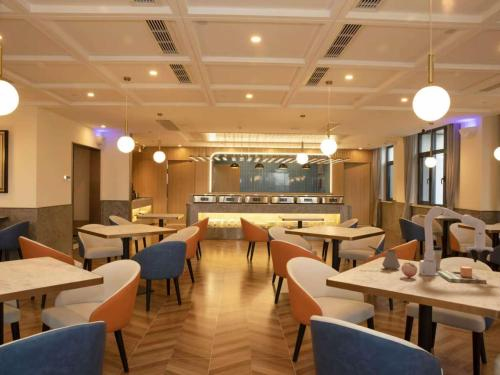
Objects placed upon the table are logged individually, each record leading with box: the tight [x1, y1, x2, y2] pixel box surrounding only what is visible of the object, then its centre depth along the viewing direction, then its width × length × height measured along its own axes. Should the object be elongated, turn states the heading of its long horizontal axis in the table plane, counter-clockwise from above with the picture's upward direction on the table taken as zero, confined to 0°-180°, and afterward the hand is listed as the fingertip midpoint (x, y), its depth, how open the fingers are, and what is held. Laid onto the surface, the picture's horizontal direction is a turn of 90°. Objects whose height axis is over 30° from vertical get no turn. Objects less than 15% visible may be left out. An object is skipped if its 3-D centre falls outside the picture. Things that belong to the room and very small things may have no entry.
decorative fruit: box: [400, 261, 418, 278], centre depth 244 cm, size 9×8×10 cm
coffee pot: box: [367, 245, 401, 271], centre depth 273 cm, size 21×12×15 cm, turn 70°
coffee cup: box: [433, 245, 443, 270], centre depth 277 cm, size 9×9×15 cm
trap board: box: [437, 270, 487, 285], centre depth 244 cm, size 20×23×2 cm
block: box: [459, 266, 473, 277], centre depth 244 cm, size 5×5×5 cm
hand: (479, 262), depth 242 cm, fingers open, 4 cm apart
